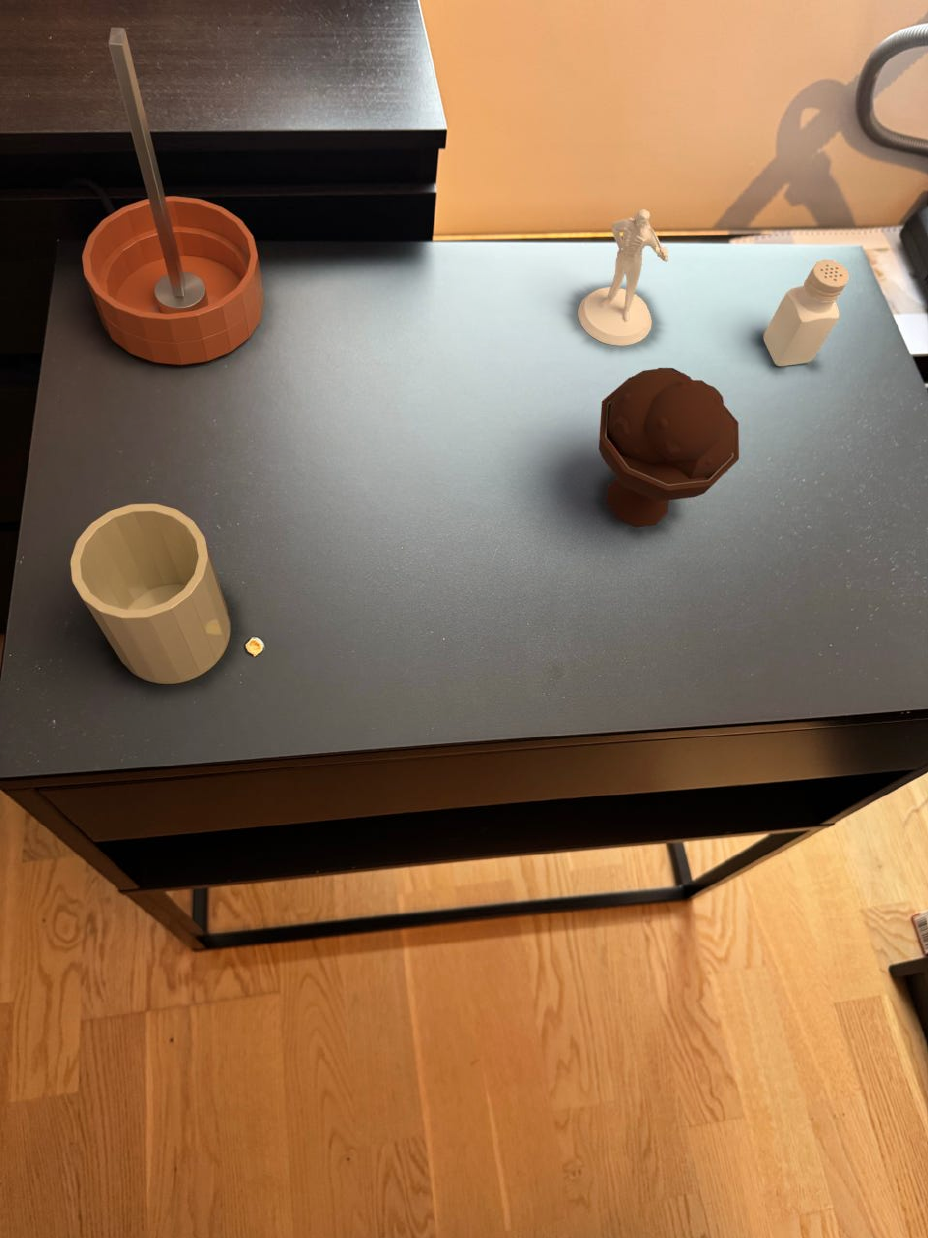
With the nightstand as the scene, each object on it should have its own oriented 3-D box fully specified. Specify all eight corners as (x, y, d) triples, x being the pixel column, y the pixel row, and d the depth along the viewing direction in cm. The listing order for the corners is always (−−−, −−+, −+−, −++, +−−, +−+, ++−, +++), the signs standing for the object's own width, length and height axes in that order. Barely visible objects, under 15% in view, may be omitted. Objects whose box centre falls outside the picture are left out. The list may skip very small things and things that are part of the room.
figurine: (562, 315, 85) (589, 207, 75) (608, 278, 88) (640, 168, 77) (621, 357, 84) (658, 254, 73) (666, 318, 86) (708, 212, 76)
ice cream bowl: (724, 499, 78) (797, 381, 64) (646, 579, 73) (707, 470, 60) (629, 426, 80) (680, 298, 67) (548, 499, 76) (585, 378, 63)
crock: (121, 695, 65) (76, 630, 55) (109, 593, 69) (65, 514, 59) (239, 671, 67) (216, 603, 57) (221, 573, 70) (197, 492, 60)
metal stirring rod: (155, 321, 80) (77, 54, 59) (159, 284, 82) (85, 13, 61) (206, 321, 80) (147, 57, 59) (209, 285, 82) (153, 16, 61)
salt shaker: (759, 337, 86) (801, 258, 78) (796, 332, 87) (842, 253, 79) (774, 369, 85) (819, 291, 76) (813, 364, 86) (861, 287, 77)
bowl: (110, 380, 77) (91, 329, 72) (94, 261, 83) (75, 205, 78) (276, 356, 80) (269, 306, 75) (250, 243, 86) (242, 188, 81)
